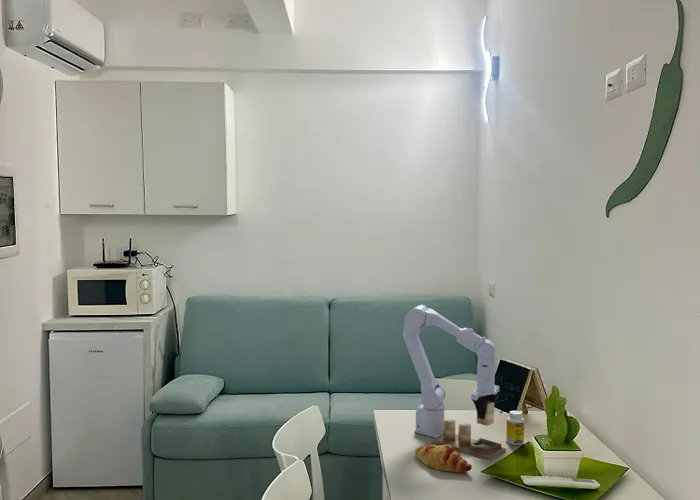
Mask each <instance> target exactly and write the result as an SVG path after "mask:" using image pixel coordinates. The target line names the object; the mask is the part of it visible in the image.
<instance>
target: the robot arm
mask: <svg viewBox="0 0 700 500" xmlns="http://www.w3.org/2000/svg"><path fill="white" fill-rule="evenodd" d="M424 325H425V326H426V327H427V326H436V327H438V328H440V329H441V330H443V331H445V332H446V333H448V334H449V335H452V336H454V337H455V339H456V342H457V343H458V344H459V345H462V346H463V347H465V348H466V349H468V350H470V351H471V352H473V353H476V356H477V362H476V363H477V364H476V366H477V367H476V389H475V390H474V391H473V392H472V393H471V394H470V399H471V401H472V402H473V405H474V406H475V409H476V415H477V414H478V418H480V419H485V414H486V407H487V404H488V402H489V401H490V402H494V407H495V406H496V404H497V401H498V399H499V397H500V395H499V392H500V385H498V384H497V385H496V384H495V377H496V376H495V374H496V371H495V370H496V369H495V367H496V365H495V364H496V363H495V360H496V359H495V354H496V350H497V346H496V344H495V343H494V342H493V341H492V339H490V338H486V337H485V336H481V335H479V334H478V333H476V332H475V331H474V329H473V328H471V327H470V328H468V327H463V328H461V327H459V326H458V325H457V324H455V323H454V322H452V321H451V320H449V319H447V318H446V317H444V316H443V315H442V314H440V313H439V312H437V311H436V310H434V309H433V308H430V307H428V306H427V305H424V304H418V305H416V306H415V307H414V308H411V309H409V311H407V313H406V315H405V317H404V324H403V329H402V338H403V339H404V340H403V341H404V342H405V346H406V347H407V351H408V353H409V356H410V358H411V361H412V364H413V366H414V369H415V371H416V375H417V377H418V379H419V382H420V392H421V396H422V397H421V402H422V404H419V406H418V407H417V409H416V410H415V429H414V433H416V434H417V433H418V434H420V435H422V436H423V435H425V436H427V437H430V438H434V439H435V438H438V437H440V436H442V435H443V420H444V419H445V405H444V403H443V401H444V400H445V399H446V390H445V389H444V388H443V387H442V386H441V385H440V383H439V380H438V379H437V378H436V377H435V375H434V373H433V370H432V366H431V365H430V362H429V359H428V357H427V354H426V352H425V348H424V346H423V344H422V341H421V339H420V335H419V334H420V332H421V331H422V328H423V326H424Z"/></svg>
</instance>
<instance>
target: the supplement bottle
mask: <svg viewBox="0 0 700 500" xmlns="http://www.w3.org/2000/svg"><path fill="white" fill-rule="evenodd" d="M508 414H509V415H508V417H507V418H506V435H505V436H506V438H505V439H506V443H507V444H510V445H512V446H520V445H523V444H524V440H525V439H524V438H525V436H524V435H525V419H524V418H523V413H522V412H521V411H519V410H510V411H509V413H508Z"/></svg>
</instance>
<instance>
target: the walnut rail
mask: <svg viewBox="0 0 700 500" xmlns="http://www.w3.org/2000/svg"><path fill="white" fill-rule="evenodd" d="M457 433H458V434H457ZM457 433H456V420H455V419H453V418H444V420H443V435H442V436H440V437H438V438H434V439H432V440H431V443H432V444H433V445H436V446H440V445H446V444H447V445H451V446H452V447H454V449H455V451H456V452H459V453H465V454H468V455H470V456H474V457H477V458H481V459H484V460H488V461H491V460H493V459H494V458H496V457H498V456H500V455H502V454H504V453H506V452H507V448H506V447H503V446H502V443H499V442H496V441H492V440H488V439H485V438H481V437H480V438H478V439H473V438H472V424H471V423H469V422H459V423H458V432H457Z"/></svg>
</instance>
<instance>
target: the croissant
mask: <svg viewBox="0 0 700 500" xmlns="http://www.w3.org/2000/svg"><path fill="white" fill-rule="evenodd" d="M414 452H415V455H416V456H417V458H418V460H419V461H421V463H422V464H423V465H425V466H426V467H427V468H430V469H431V468H432V469H434V470H437V471H443V472H451V473H456V474H463V473H466V472H470V471H472V467H473V466H472V464H471V463H468V461H467V460H466V459H465V458H463V457H462V456H461V452H460V451H457V450H455V449H454V447H452V446H451V445H447V444H446V445H436V444H433V445H432V444H430V445H427V446H425V445H424V446H420V447H416V448H415V451H414Z"/></svg>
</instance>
